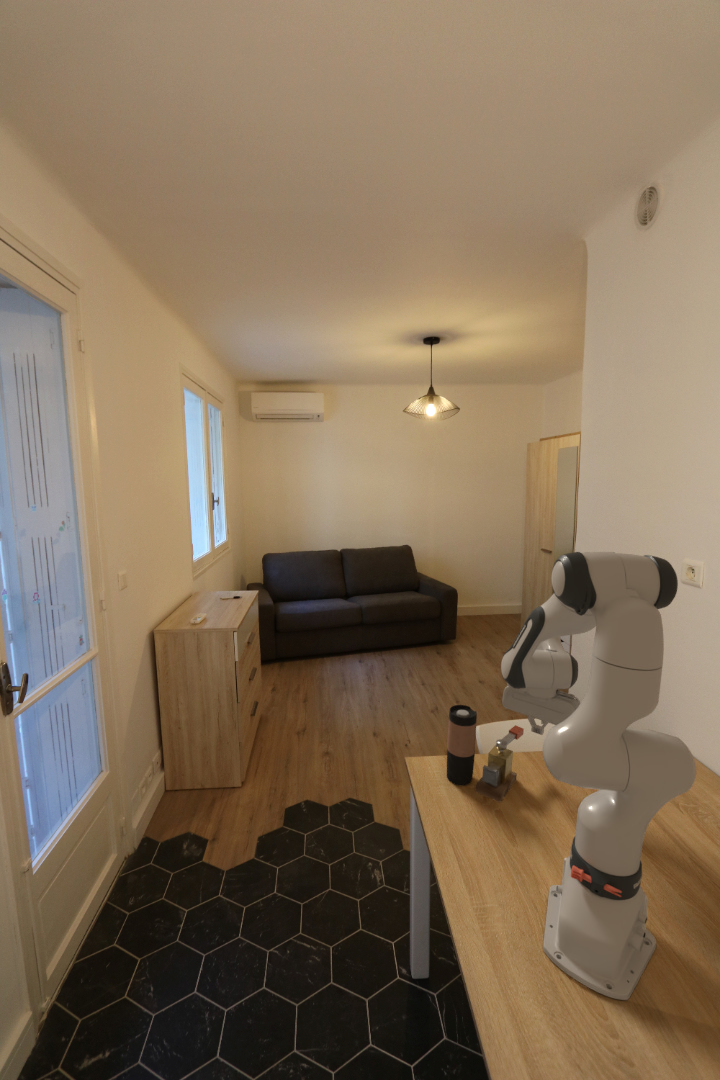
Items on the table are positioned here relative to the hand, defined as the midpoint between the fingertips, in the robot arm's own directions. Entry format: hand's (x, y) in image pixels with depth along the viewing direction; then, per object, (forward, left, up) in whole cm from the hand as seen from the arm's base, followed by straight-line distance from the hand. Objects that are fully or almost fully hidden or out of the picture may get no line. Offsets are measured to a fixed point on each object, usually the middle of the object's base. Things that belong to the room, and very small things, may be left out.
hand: (537, 732), depth 134 cm
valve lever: (-3, +7, -4) cm, 8 cm away
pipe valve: (-10, +7, -12) cm, 17 cm away
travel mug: (-13, +17, -14) cm, 25 cm away
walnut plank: (-10, +7, -14) cm, 18 cm away
